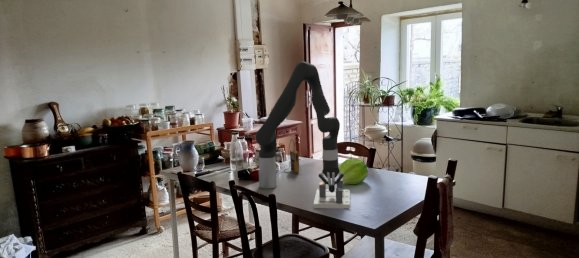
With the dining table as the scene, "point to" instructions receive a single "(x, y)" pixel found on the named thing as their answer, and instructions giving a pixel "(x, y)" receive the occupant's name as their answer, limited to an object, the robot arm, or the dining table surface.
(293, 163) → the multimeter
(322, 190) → the block
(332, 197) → the breaker panel
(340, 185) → the block
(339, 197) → the block
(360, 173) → the lettuce
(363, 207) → the dining table surface
